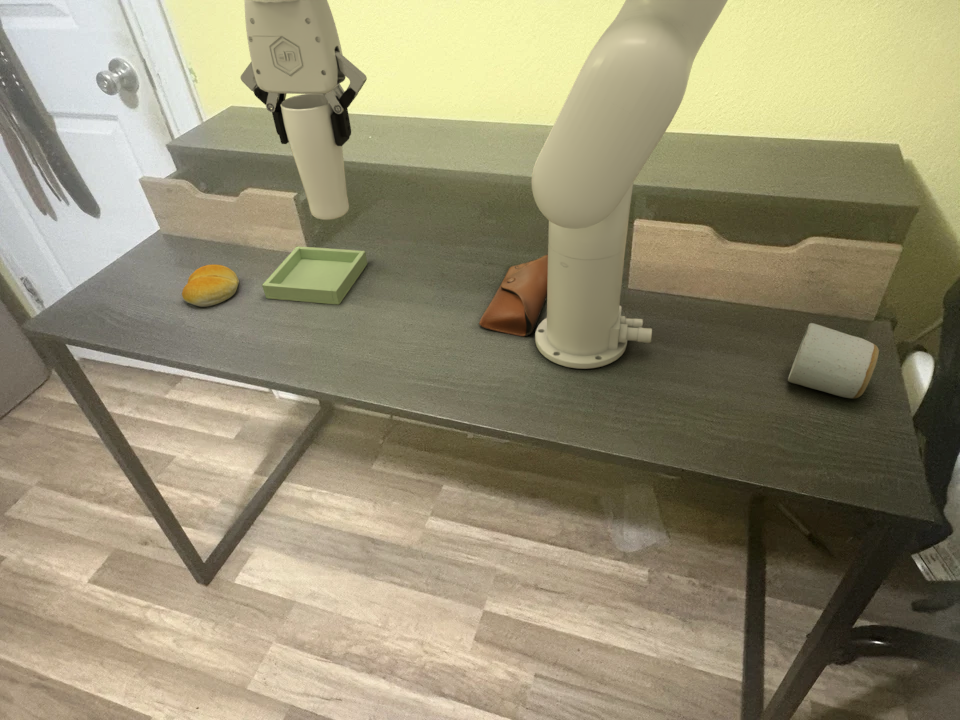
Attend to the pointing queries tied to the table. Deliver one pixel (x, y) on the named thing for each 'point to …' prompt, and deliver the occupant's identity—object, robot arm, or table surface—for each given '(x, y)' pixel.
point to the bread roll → (210, 285)
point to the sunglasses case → (518, 299)
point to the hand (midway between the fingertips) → (315, 140)
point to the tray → (315, 275)
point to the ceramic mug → (834, 362)
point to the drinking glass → (316, 154)
